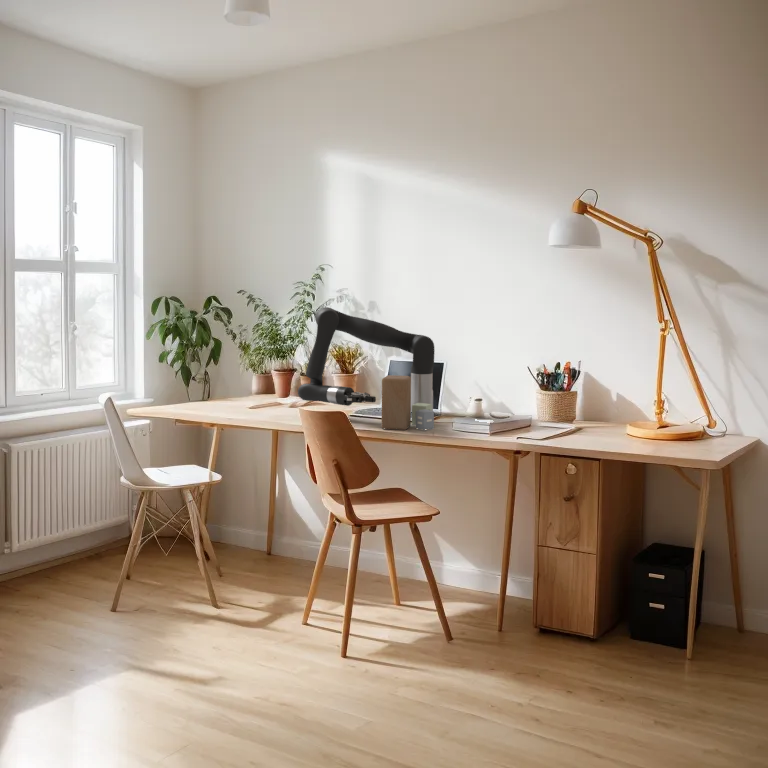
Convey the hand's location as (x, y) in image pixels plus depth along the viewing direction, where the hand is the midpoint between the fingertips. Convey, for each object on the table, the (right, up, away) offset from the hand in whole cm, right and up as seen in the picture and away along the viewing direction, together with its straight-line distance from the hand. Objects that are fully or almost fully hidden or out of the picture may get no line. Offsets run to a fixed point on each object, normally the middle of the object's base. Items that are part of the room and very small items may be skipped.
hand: (374, 399), depth 336 cm
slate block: (+19, -11, -6) cm, 23 cm away
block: (+8, -11, -5) cm, 15 cm away
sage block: (+19, -10, +3) cm, 21 cm away
